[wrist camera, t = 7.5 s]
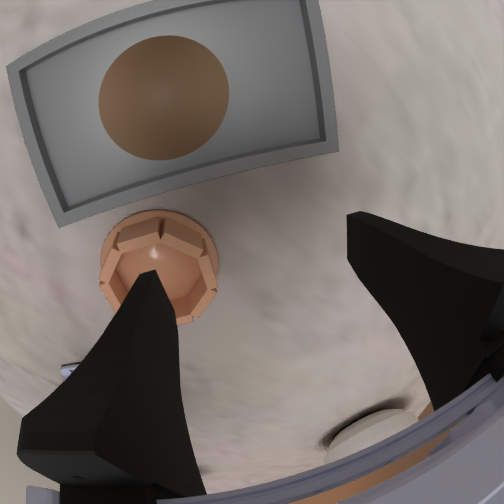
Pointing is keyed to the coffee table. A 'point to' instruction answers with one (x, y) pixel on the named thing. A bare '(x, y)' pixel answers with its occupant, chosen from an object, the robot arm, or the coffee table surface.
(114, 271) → the terracotta cup
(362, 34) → the coffee table surface
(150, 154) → the walnut peg
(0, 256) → the coffee table surface
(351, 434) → the bowl
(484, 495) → the robot arm
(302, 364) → the coffee table surface
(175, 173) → the charcoal tray
